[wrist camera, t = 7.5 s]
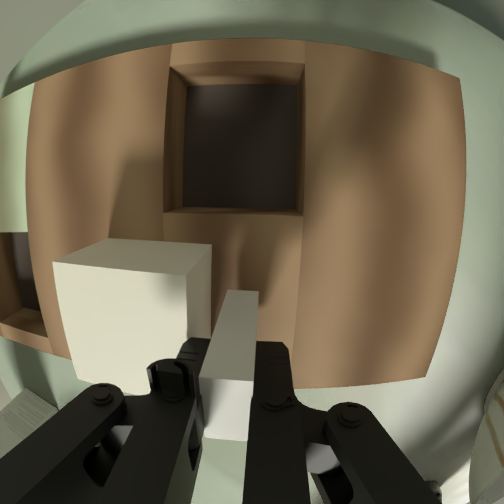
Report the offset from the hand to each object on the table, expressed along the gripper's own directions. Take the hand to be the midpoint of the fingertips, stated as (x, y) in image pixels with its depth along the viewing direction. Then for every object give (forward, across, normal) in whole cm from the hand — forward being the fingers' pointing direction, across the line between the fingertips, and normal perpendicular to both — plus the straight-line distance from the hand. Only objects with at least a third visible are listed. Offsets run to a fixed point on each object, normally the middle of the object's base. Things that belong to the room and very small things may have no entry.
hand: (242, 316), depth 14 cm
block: (+1, +5, 0) cm, 5 cm away
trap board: (+6, +6, -4) cm, 9 cm away
